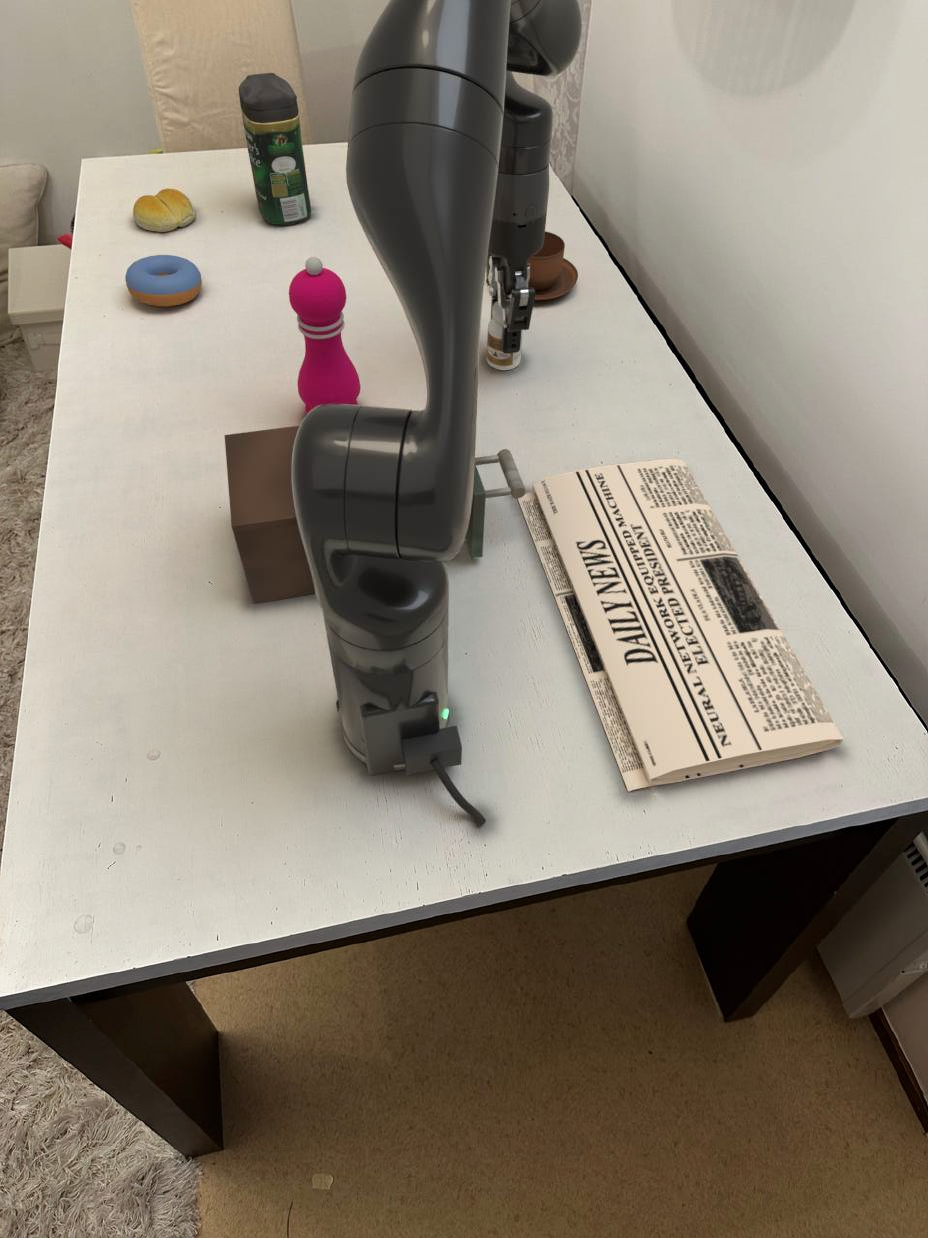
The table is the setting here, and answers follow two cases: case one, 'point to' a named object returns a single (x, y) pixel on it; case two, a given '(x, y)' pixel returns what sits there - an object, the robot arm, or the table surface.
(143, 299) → the doughnut
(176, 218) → the bread roll
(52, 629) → the table surface
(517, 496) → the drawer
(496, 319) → the pill bottle
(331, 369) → the pepper mill
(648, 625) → the newspaper
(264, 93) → the coffee jar
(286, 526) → the brown box
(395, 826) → the table surface
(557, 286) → the cup and saucer
